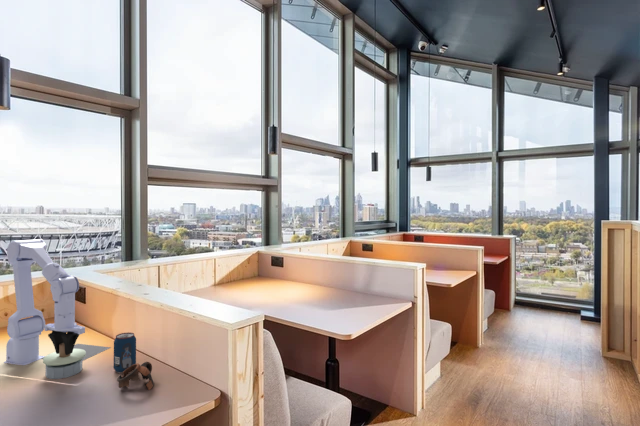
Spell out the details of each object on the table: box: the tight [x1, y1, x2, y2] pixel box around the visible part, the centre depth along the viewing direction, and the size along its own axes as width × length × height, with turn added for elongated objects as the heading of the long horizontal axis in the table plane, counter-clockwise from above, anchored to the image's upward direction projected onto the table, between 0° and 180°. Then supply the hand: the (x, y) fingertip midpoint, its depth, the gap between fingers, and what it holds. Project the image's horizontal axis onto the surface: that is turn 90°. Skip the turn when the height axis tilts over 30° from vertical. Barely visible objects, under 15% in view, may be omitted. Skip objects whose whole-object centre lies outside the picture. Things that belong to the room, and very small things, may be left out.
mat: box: [40, 343, 112, 362], centre depth 144 cm, size 16×16×1 cm
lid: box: [42, 343, 86, 366], centre depth 128 cm, size 12×12×5 cm
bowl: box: [44, 359, 83, 380], centre depth 128 cm, size 10×10×4 cm
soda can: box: [113, 332, 137, 374], centre depth 131 cm, size 7×7×12 cm
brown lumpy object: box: [116, 361, 155, 391], centre depth 120 cm, size 12×10×8 cm
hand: (64, 353), depth 127 cm, fingers closed on lid, 3 cm apart
